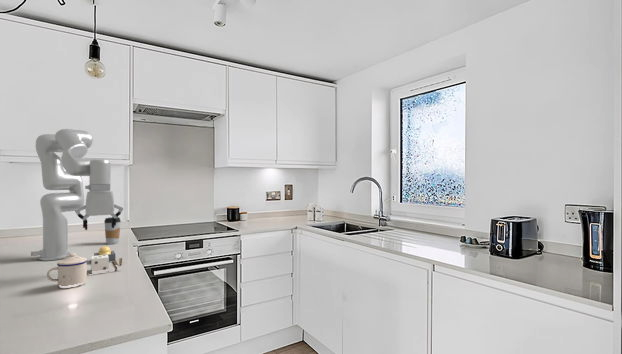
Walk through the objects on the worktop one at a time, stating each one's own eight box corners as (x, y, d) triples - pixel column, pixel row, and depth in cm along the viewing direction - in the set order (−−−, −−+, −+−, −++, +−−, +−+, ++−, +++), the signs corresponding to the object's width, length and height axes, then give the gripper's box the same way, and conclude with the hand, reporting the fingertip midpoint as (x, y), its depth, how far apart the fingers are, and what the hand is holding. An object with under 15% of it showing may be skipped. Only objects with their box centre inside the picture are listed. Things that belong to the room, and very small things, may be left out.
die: (91, 273, 136) (91, 259, 136) (91, 270, 141) (91, 256, 141) (108, 271, 140) (108, 257, 139) (107, 268, 144) (107, 254, 144)
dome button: (98, 261, 153) (98, 248, 153) (98, 259, 157) (98, 246, 157) (111, 260, 156) (111, 246, 155) (110, 258, 160) (110, 244, 160)
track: (75, 277, 130) (75, 270, 130) (74, 266, 146) (74, 260, 146) (125, 270, 141) (125, 263, 141) (119, 260, 156) (119, 254, 156)
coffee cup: (115, 245, 190) (115, 219, 190) (100, 244, 190) (100, 219, 190) (123, 242, 198) (123, 217, 198) (110, 241, 198) (110, 217, 198)
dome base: (95, 263, 150) (95, 256, 150) (94, 260, 157) (94, 252, 157) (115, 261, 155) (115, 254, 155) (113, 257, 162) (113, 250, 162)
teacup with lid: (86, 279, 128) (86, 249, 128) (88, 285, 121) (88, 254, 121) (46, 285, 121) (46, 254, 121) (46, 292, 114) (46, 259, 114)
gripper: (75, 189, 132) (74, 231, 132) (124, 188, 142) (124, 227, 142) (74, 188, 138) (74, 229, 138) (122, 187, 148) (121, 225, 148)
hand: (99, 228), depth 140 cm, fingers open, 9 cm apart
